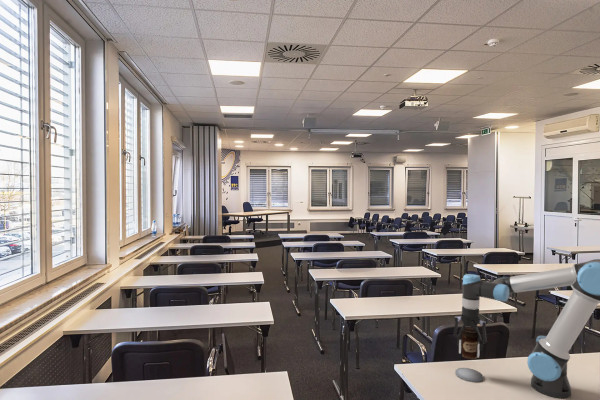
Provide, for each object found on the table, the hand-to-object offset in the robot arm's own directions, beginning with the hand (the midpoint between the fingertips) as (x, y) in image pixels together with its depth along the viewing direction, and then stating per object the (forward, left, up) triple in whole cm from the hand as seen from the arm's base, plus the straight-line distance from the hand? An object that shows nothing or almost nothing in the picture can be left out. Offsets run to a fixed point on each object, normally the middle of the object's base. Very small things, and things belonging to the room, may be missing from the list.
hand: (469, 354), depth 176 cm
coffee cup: (0, 0, -1) cm, 1 cm away
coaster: (0, 0, -10) cm, 10 cm away
